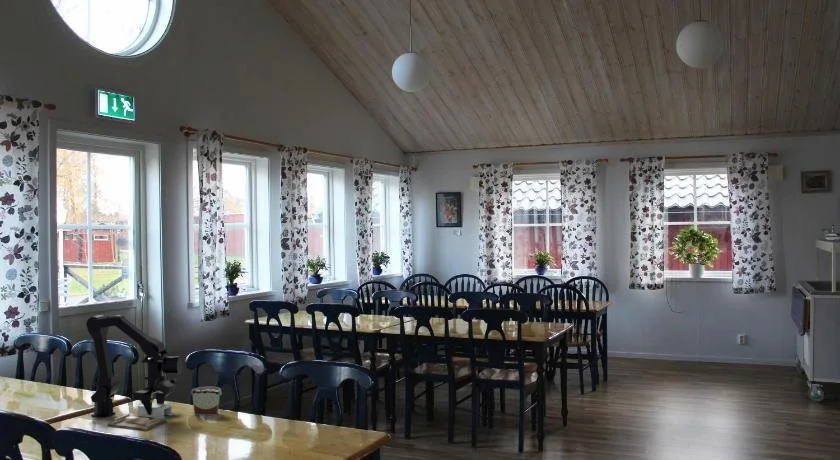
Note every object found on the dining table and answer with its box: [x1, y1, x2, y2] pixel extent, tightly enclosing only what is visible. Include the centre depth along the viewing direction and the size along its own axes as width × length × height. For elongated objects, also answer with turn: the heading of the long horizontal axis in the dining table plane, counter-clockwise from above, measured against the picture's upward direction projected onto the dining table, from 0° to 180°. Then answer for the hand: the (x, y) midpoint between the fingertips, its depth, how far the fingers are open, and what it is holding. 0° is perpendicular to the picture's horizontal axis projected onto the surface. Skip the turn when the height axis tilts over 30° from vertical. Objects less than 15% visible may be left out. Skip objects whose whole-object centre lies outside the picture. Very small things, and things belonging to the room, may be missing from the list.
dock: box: [107, 413, 168, 431], centre depth 259 cm, size 18×11×2 cm, turn 71°
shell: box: [137, 402, 173, 420], centre depth 271 cm, size 12×6×4 cm, turn 71°
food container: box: [190, 386, 223, 416], centre depth 275 cm, size 12×6×10 cm, turn 84°
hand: (155, 412), depth 271 cm, fingers closed on shell, 5 cm apart
